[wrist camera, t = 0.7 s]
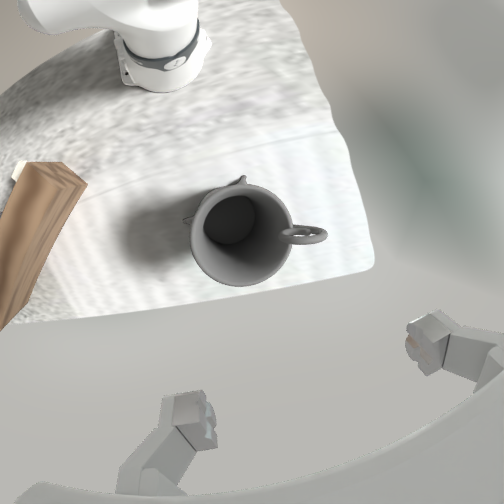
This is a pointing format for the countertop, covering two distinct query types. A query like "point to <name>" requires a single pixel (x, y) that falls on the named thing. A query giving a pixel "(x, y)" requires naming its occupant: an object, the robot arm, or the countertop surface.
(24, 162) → the cream key
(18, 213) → the console
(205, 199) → the grey footed pot
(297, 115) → the countertop surface
